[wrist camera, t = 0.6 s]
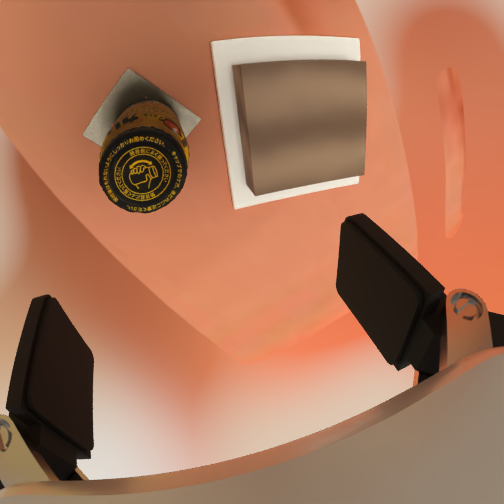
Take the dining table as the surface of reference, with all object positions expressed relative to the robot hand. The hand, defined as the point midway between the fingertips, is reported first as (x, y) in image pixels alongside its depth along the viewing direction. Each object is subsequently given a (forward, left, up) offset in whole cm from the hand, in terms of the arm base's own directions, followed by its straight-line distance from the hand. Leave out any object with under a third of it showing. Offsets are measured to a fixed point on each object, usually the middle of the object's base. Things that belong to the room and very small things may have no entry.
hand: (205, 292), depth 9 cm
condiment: (-2, -2, -22) cm, 22 cm away
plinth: (0, +13, -21) cm, 24 cm away
